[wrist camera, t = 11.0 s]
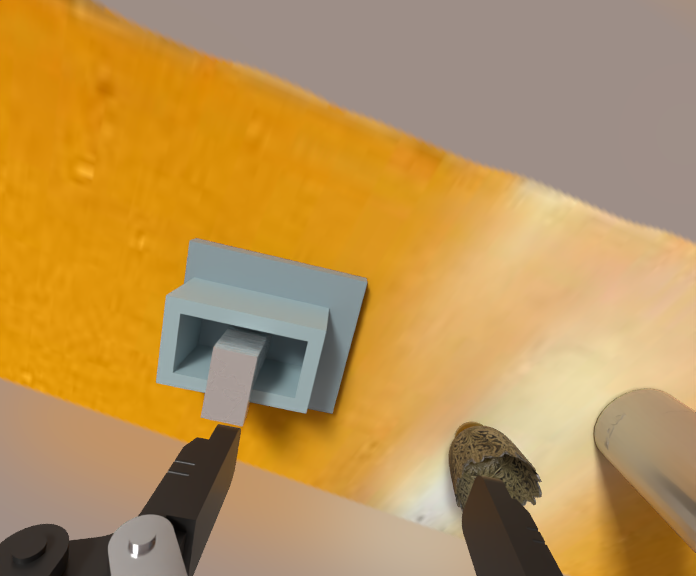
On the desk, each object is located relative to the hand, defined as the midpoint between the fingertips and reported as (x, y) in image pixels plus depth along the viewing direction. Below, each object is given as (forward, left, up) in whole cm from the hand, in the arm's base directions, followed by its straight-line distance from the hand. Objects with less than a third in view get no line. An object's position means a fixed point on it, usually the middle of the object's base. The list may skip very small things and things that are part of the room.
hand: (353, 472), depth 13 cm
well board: (+6, +6, -24) cm, 26 cm away
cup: (-17, +13, -24) cm, 32 cm away
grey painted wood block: (+7, +7, -23) cm, 25 cm away
